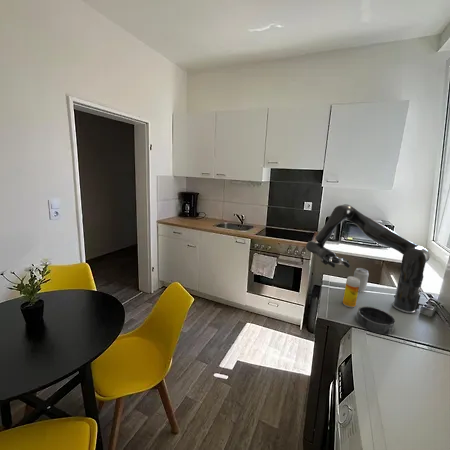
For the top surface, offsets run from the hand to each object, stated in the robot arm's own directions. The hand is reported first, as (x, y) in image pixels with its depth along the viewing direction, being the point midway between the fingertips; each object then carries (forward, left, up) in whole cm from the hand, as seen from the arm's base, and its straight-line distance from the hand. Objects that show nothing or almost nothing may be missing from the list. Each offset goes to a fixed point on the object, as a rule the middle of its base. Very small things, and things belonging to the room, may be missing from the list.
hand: (341, 265), depth 134 cm
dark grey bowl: (-2, +27, -17) cm, 32 cm away
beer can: (0, +11, -17) cm, 21 cm away
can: (-18, -7, -17) cm, 26 cm away
